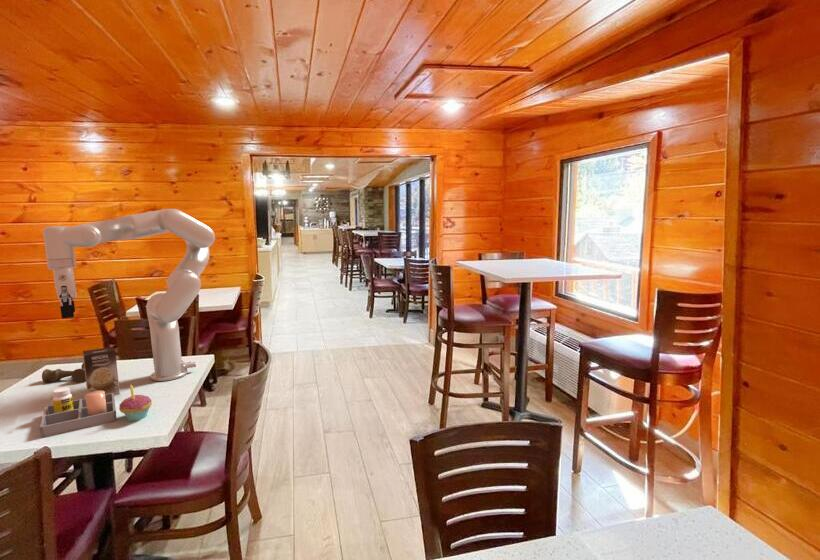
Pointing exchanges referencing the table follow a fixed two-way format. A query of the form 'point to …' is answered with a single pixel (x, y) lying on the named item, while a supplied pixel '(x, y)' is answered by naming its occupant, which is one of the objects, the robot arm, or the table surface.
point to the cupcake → (135, 406)
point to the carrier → (75, 417)
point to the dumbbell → (64, 375)
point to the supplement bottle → (62, 400)
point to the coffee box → (101, 370)
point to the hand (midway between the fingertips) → (68, 315)
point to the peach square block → (96, 403)
